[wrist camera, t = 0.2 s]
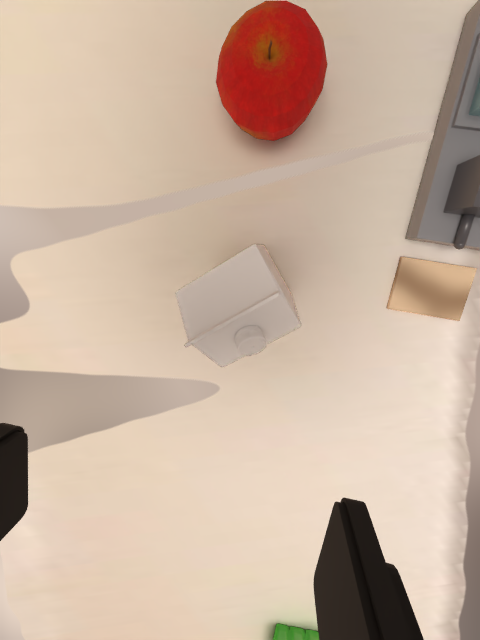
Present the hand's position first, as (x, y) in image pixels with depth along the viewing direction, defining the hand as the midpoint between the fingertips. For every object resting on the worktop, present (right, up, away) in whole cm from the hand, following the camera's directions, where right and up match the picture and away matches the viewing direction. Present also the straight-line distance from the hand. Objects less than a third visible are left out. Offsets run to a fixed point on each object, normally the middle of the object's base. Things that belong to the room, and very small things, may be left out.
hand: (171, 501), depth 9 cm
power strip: (+26, +25, +23) cm, 43 cm away
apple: (+6, +28, +25) cm, 38 cm away
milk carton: (+4, +10, +30) cm, 31 cm away
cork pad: (+24, +9, +27) cm, 37 cm away
